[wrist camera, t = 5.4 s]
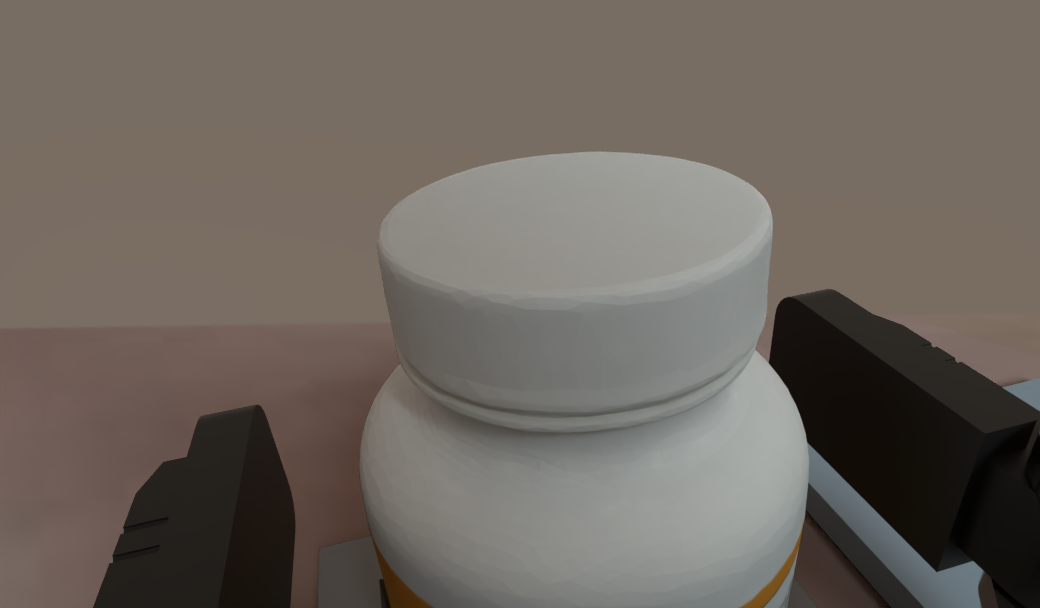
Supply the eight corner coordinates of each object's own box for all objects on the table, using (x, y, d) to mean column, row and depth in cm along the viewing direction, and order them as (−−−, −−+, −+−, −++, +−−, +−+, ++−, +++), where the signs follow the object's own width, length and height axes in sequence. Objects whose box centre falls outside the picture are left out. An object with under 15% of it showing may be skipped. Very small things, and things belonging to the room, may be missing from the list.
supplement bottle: (487, 575, 14) (422, 136, 10) (743, 618, 13) (813, 131, 8) (384, 875, 10) (164, 318, 5) (764, 990, 8) (947, 374, 4)
